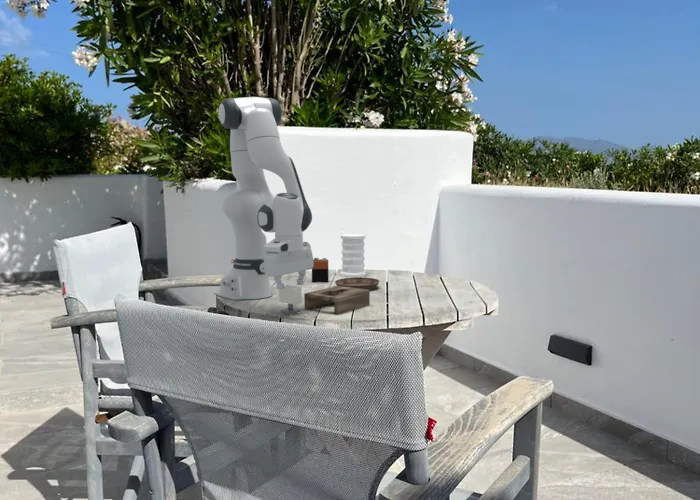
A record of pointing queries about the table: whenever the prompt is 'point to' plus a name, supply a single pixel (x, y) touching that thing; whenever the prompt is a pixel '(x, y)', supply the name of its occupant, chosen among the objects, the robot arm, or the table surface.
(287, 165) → the robot arm
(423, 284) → the table surface
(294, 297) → the gray rectangular block
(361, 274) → the decorative container
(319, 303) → the brown open frame
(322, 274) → the battery
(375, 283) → the plant saucer
